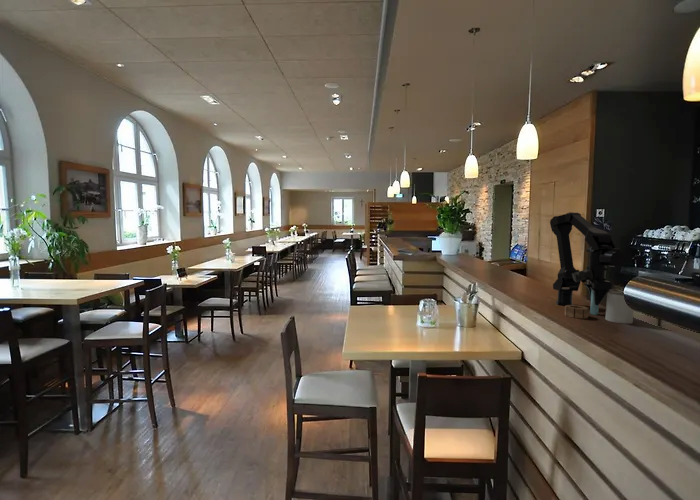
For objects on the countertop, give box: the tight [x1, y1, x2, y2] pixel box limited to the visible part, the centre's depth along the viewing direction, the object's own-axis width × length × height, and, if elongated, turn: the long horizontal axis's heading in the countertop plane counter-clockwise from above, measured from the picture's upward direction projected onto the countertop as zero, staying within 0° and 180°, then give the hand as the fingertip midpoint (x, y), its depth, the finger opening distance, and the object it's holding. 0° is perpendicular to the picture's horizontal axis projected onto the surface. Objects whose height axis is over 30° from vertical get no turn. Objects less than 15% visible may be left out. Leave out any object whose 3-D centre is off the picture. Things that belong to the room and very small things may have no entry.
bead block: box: [564, 304, 590, 319], centre depth 156 cm, size 8×8×4 cm
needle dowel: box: [589, 290, 600, 316], centre depth 160 cm, size 3×3×10 cm
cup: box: [604, 291, 635, 324], centre depth 150 cm, size 8×8×10 cm
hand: (594, 303), depth 160 cm, fingers open, 5 cm apart
